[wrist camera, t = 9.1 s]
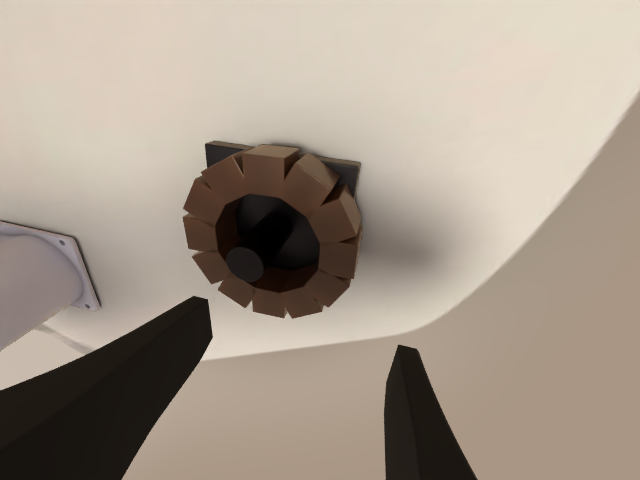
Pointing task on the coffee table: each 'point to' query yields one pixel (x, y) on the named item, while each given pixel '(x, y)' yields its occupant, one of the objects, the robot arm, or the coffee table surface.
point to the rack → (274, 223)
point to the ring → (299, 192)
